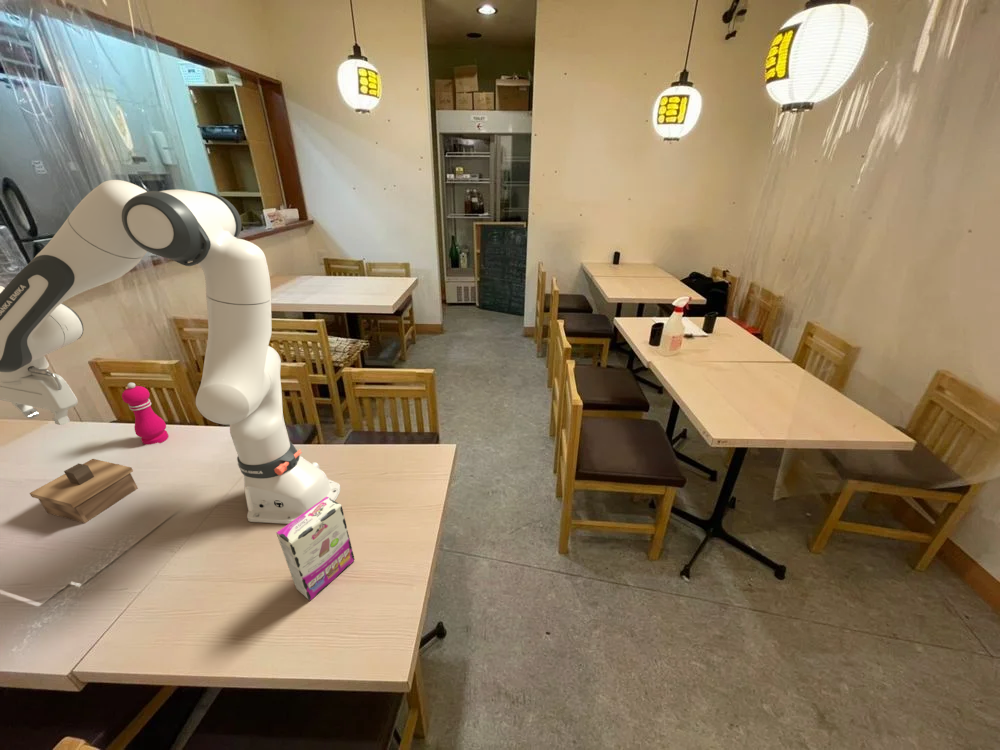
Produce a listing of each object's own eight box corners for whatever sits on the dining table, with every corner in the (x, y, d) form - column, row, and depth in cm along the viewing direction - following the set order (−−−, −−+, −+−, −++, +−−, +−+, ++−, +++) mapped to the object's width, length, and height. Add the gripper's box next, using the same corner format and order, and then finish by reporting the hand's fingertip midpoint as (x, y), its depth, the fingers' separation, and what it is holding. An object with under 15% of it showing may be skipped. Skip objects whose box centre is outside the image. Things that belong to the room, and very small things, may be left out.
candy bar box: (340, 550, 88) (327, 494, 81) (355, 560, 86) (343, 504, 79) (293, 589, 80) (274, 531, 72) (309, 602, 78) (290, 543, 70)
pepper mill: (154, 448, 119) (127, 390, 110) (134, 445, 120) (106, 387, 111) (176, 434, 125) (152, 378, 116) (157, 431, 127) (132, 375, 118)
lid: (133, 471, 101) (125, 456, 99) (73, 507, 90) (63, 492, 88) (94, 462, 104) (86, 447, 102) (31, 497, 93) (21, 481, 91)
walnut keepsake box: (139, 489, 104) (129, 472, 101) (86, 524, 93) (74, 505, 91) (104, 481, 106) (94, 463, 104) (48, 514, 96) (36, 496, 93)
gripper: (70, 364, 83) (99, 419, 89) (1, 352, 87) (33, 406, 94) (32, 377, 78) (65, 435, 84) (-40, 364, 82) (-3, 420, 88)
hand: (48, 420), depth 89 cm, fingers open, 8 cm apart
